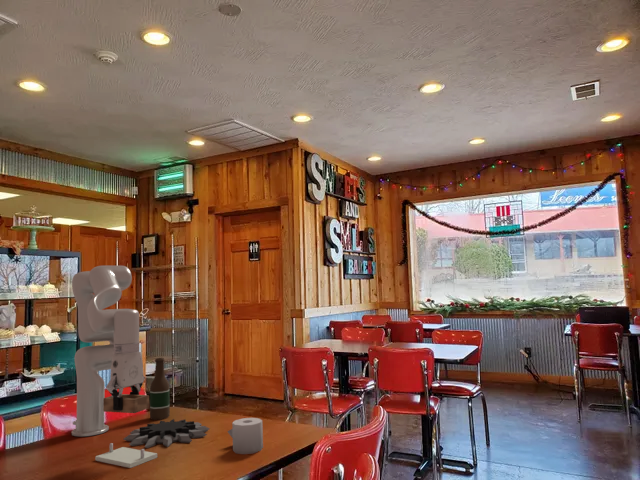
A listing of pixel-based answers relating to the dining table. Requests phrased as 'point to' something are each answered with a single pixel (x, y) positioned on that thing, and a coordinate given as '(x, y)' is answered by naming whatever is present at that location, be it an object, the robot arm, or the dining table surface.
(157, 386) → the beer bottle
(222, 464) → the dining table surface
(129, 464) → the panel
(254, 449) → the toilet tissue
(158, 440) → the decorative piece
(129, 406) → the frame
